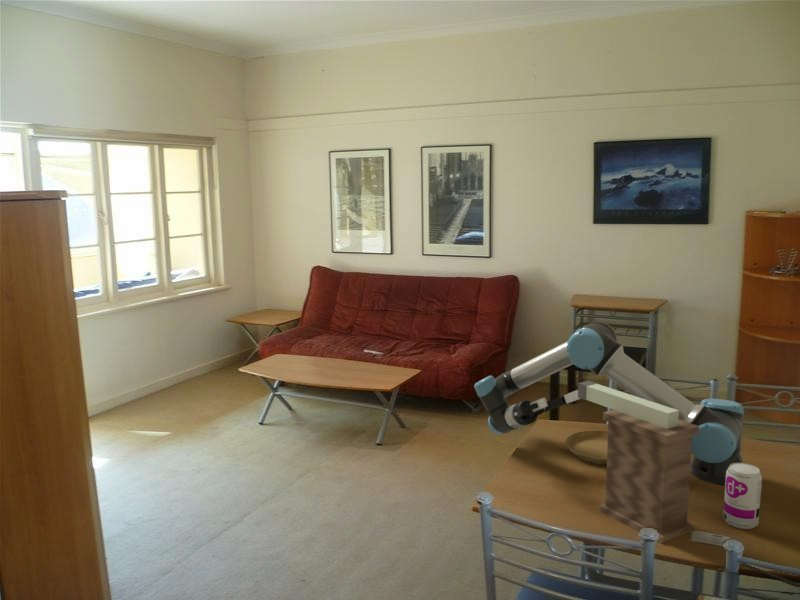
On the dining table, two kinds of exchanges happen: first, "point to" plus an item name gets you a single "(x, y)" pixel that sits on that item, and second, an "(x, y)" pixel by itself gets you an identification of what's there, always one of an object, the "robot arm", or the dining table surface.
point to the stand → (648, 474)
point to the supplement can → (742, 495)
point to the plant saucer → (589, 445)
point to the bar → (629, 404)
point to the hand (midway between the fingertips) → (563, 397)
